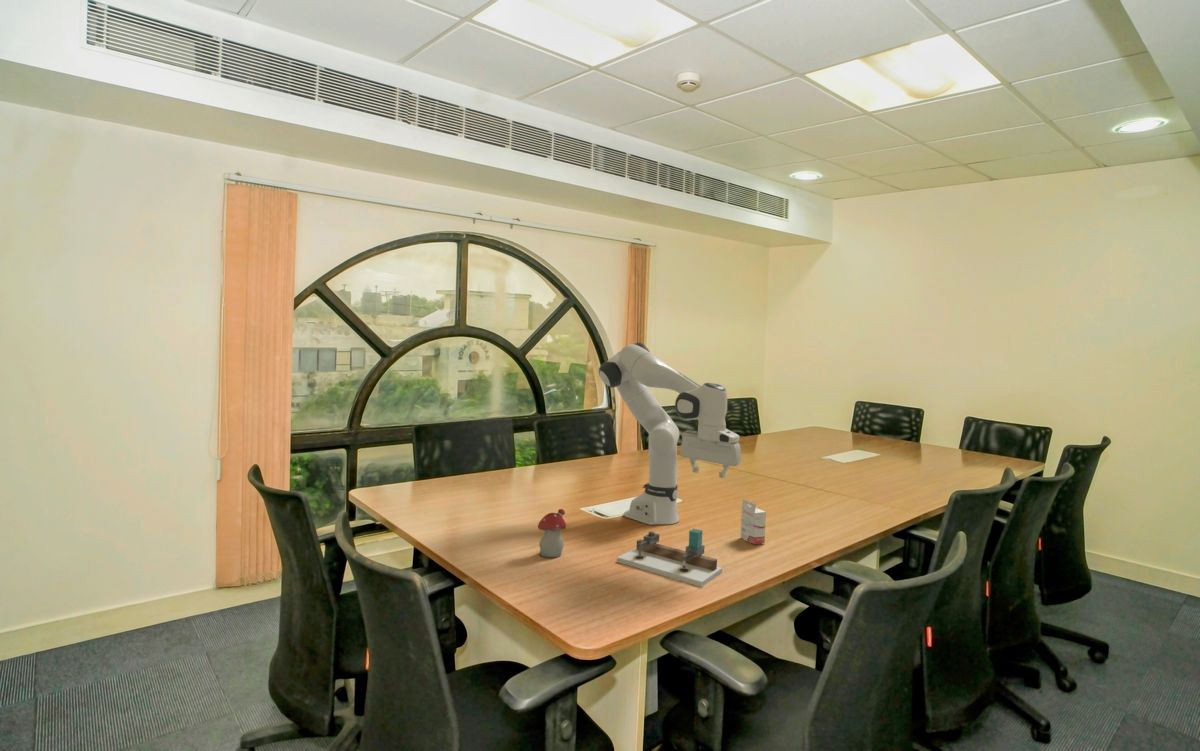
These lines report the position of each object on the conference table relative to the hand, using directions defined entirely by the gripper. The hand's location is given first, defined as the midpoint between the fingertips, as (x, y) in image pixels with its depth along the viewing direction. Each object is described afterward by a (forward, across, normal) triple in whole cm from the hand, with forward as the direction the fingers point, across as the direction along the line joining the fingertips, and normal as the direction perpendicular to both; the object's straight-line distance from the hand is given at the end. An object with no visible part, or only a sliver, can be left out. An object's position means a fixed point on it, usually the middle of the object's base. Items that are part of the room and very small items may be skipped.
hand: (708, 474), depth 195 cm
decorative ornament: (+29, -40, -30) cm, 58 cm away
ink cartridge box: (+28, +7, +27) cm, 39 cm away
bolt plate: (+28, -5, -15) cm, 32 cm away
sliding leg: (+25, +2, -14) cm, 29 cm away
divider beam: (+26, -5, -14) cm, 30 cm away
